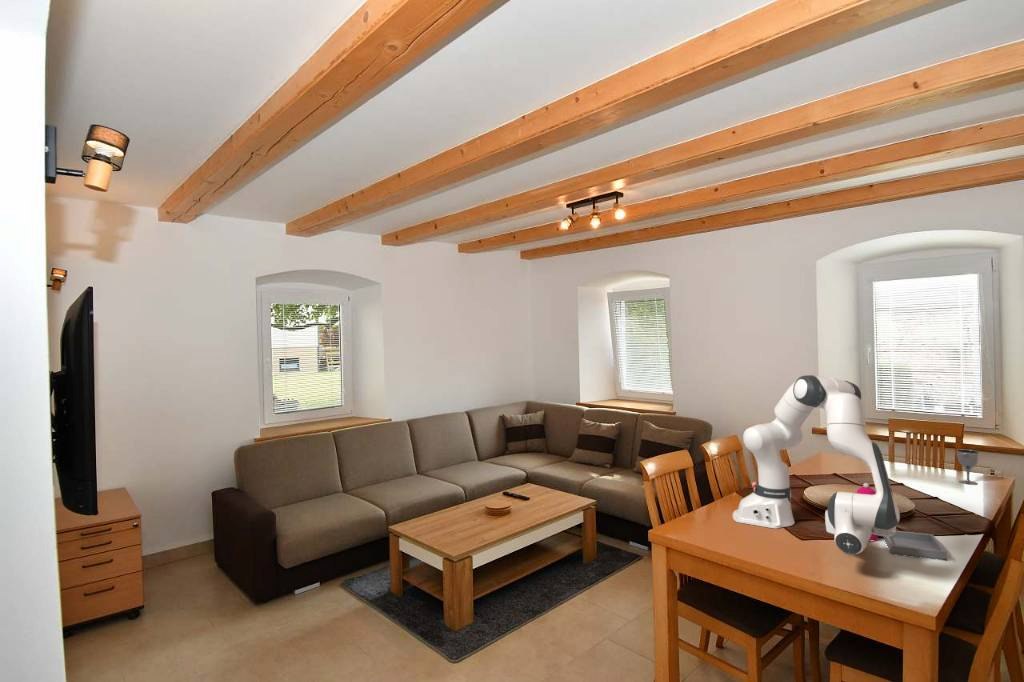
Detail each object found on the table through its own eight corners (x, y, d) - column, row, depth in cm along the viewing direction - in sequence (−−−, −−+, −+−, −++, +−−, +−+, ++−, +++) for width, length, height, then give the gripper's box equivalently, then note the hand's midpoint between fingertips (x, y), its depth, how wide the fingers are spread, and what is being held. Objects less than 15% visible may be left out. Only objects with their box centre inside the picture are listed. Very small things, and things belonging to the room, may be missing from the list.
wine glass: (964, 485, 253) (963, 453, 253) (953, 480, 261) (953, 449, 261) (983, 485, 252) (983, 453, 252) (972, 480, 260) (971, 449, 259)
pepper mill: (882, 542, 192) (882, 486, 192) (860, 541, 194) (859, 485, 193) (873, 534, 199) (872, 480, 199) (851, 533, 201) (850, 480, 200)
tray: (891, 554, 182) (891, 545, 182) (881, 536, 197) (881, 529, 197) (947, 560, 176) (946, 552, 176) (932, 542, 191) (932, 534, 191)
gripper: (894, 525, 171) (898, 512, 182) (821, 512, 184) (828, 501, 195) (894, 545, 171) (898, 531, 182) (821, 530, 184) (829, 519, 195)
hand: (862, 515), depth 188 cm, fingers open, 8 cm apart
